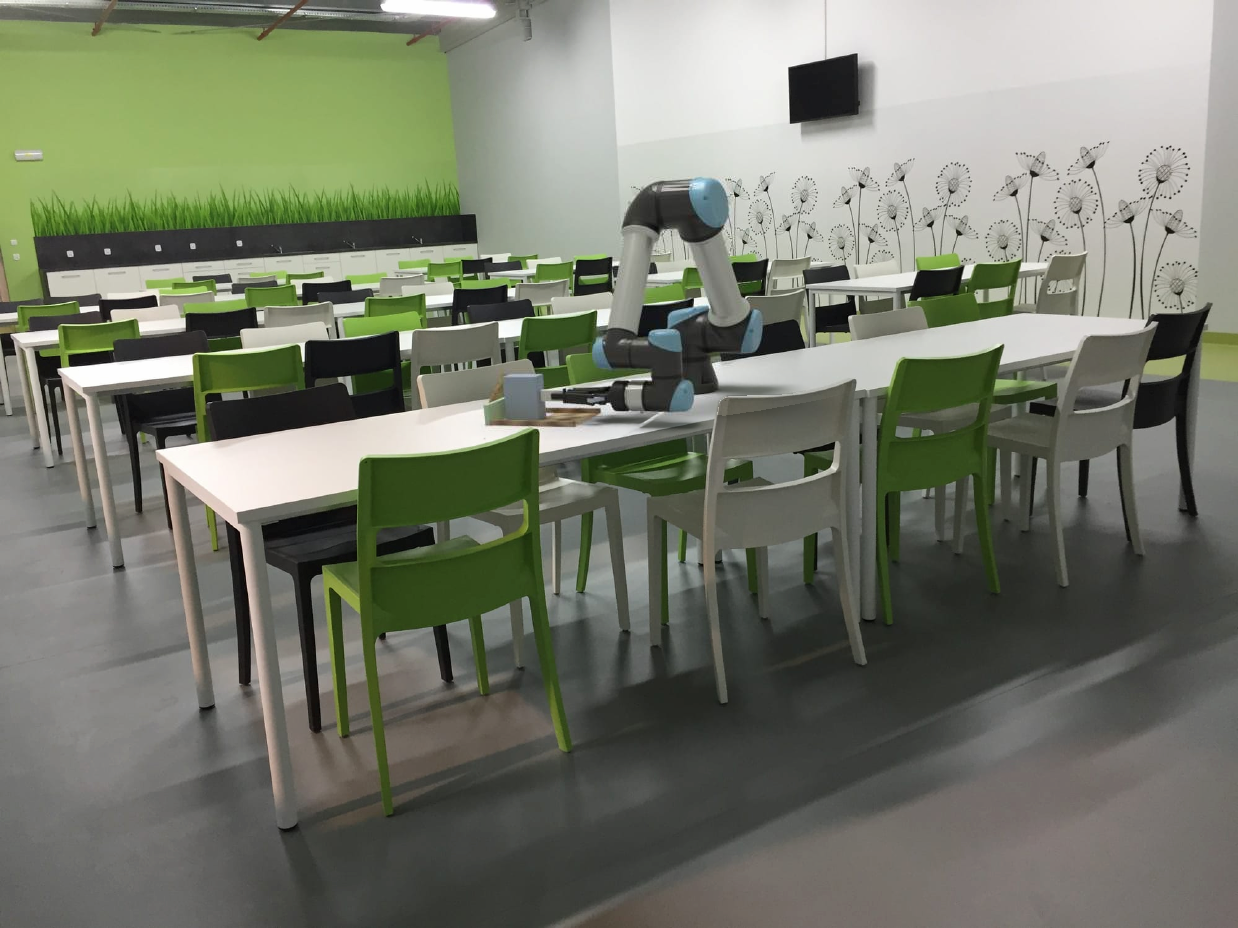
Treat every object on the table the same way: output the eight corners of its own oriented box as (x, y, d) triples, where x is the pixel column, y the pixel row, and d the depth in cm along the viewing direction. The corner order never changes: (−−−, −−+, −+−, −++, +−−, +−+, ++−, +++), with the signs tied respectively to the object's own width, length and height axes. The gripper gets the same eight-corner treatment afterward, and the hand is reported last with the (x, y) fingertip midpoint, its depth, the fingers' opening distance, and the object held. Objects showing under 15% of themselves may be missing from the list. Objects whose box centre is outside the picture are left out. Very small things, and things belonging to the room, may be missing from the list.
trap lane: (601, 416, 253) (600, 408, 253) (574, 430, 238) (574, 421, 238) (520, 415, 262) (519, 407, 261) (490, 429, 247) (489, 420, 246)
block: (546, 417, 252) (542, 374, 249) (538, 420, 248) (535, 377, 245) (514, 416, 255) (510, 374, 252) (506, 420, 251) (502, 377, 248)
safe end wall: (520, 415, 262) (518, 392, 260) (490, 429, 247) (487, 405, 245) (516, 415, 262) (514, 392, 261) (485, 429, 247) (483, 405, 246)
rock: (530, 403, 265) (525, 392, 274) (508, 380, 261) (504, 370, 270) (499, 430, 266) (495, 418, 275) (478, 407, 262) (474, 396, 271)
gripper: (621, 416, 235) (531, 415, 243) (640, 405, 246) (553, 405, 255) (619, 385, 233) (528, 385, 242) (638, 376, 245) (551, 376, 253)
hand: (541, 395), depth 248 cm, fingers closed
